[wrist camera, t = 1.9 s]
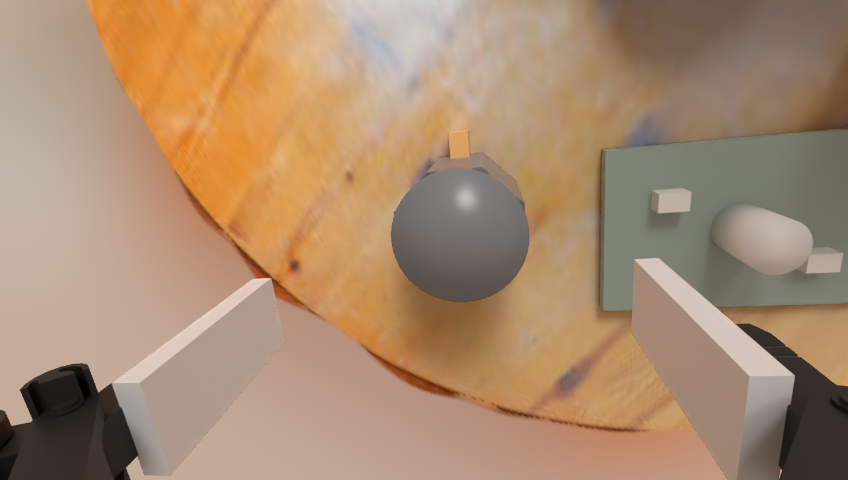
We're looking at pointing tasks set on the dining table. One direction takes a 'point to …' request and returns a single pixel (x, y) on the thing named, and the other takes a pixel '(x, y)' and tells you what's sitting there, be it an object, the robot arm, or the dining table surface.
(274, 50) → the dining table surface
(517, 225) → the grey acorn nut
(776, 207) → the post base
